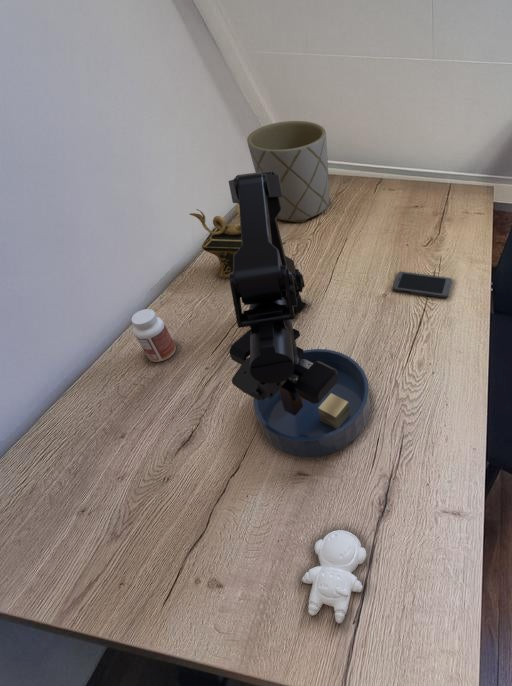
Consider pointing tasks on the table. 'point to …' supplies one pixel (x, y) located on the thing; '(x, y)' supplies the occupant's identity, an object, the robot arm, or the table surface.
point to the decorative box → (222, 241)
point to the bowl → (306, 426)
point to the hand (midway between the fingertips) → (290, 395)
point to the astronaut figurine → (335, 572)
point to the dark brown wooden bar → (290, 401)
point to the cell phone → (422, 284)
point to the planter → (294, 165)
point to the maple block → (334, 411)
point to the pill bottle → (153, 335)
